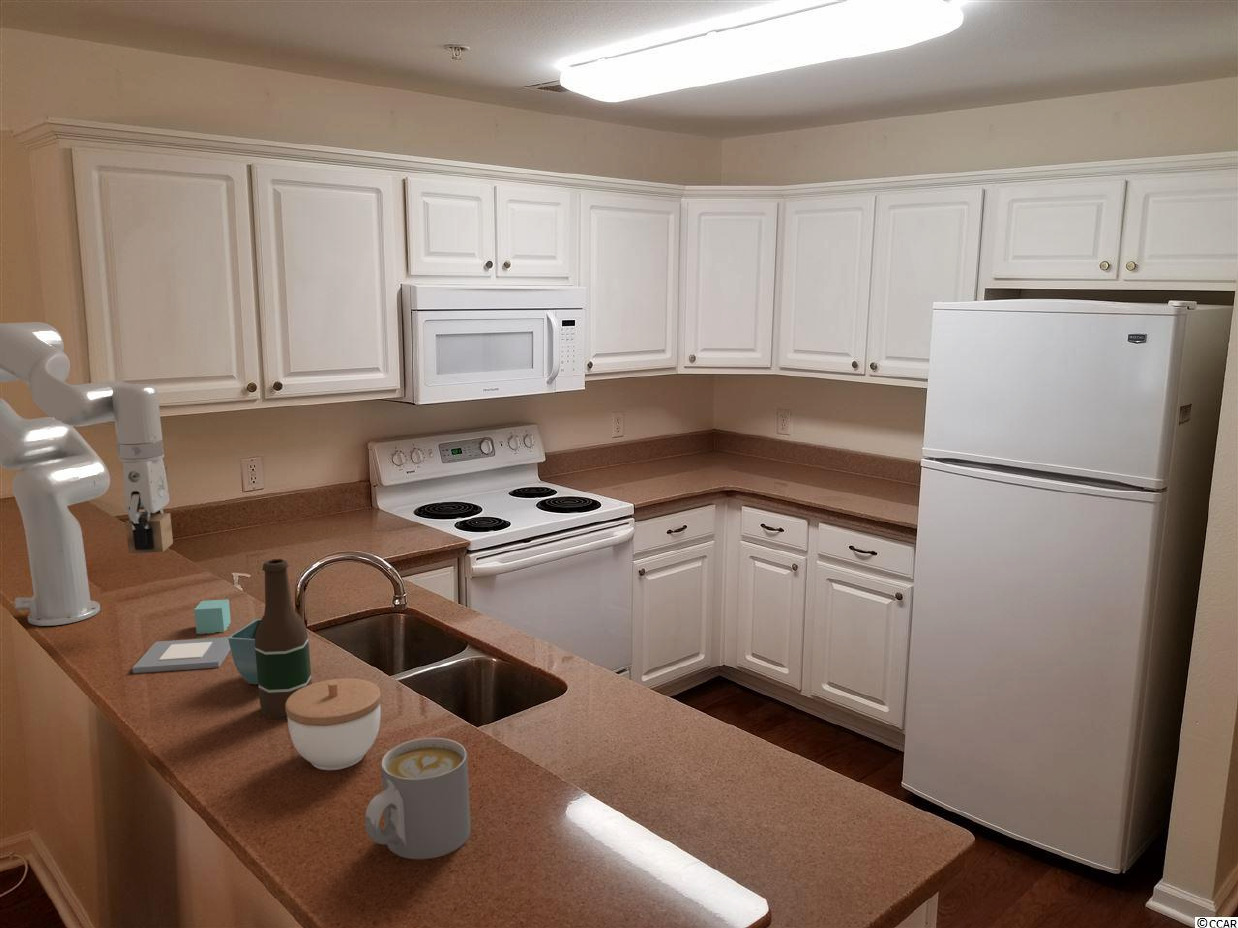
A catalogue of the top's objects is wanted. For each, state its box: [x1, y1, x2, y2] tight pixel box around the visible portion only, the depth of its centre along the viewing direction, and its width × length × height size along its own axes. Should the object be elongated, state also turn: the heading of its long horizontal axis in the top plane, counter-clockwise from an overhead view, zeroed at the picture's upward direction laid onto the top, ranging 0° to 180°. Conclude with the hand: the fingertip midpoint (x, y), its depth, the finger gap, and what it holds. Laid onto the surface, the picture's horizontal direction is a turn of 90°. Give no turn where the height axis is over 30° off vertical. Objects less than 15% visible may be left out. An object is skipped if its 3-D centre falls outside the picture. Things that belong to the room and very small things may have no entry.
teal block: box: [193, 599, 232, 635], centre depth 179 cm, size 5×5×5 cm
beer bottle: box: [255, 558, 313, 720], centre depth 143 cm, size 8×8×24 cm
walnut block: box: [125, 512, 174, 554], centre depth 176 cm, size 6×6×6 cm
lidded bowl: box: [285, 677, 382, 771], centre depth 129 cm, size 13×13×11 cm
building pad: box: [132, 636, 231, 674], centre depth 166 cm, size 14×12×1 cm
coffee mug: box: [364, 737, 472, 860], centre depth 109 cm, size 13×10×10 cm
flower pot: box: [227, 618, 262, 685], centre depth 155 cm, size 9×9×9 cm
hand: (150, 543), depth 176 cm, fingers closed on walnut block, 6 cm apart
